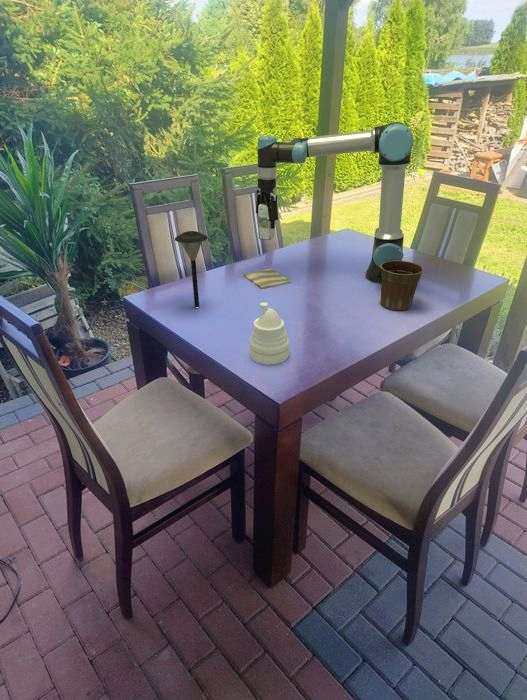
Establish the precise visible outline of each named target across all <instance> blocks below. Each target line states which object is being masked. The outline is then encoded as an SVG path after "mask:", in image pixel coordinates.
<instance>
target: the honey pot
mask: <svg viewBox="0 0 527 700" xmlns="http://www.w3.org/2000/svg"><path fill="white" fill-rule="evenodd" d="M259 306H260V309H261V310H262V313H261V314H260V316H259V317H258V318H255V320H254V321H253V323H252V325H253V327H254V328H253V330H252V334H251V337H250V339H249V355H250V358H251V359H252V360H253V361H254V362H256V363H258V364H262V365H269V366H270V365H271V366H272V365H278V364H280V363H283V362H285V361H286V360H287V359H288V357H289V356H290V355H289V353H290V339H289V338H288V337H289V336H288V334H287V331H286V329H285V321H284V320H283V319H281V317H280V316H279V314H278V312H277V311H276V310H275V309H273V308H271V307H270V308H269V303H268V302H264V301H263V302H260V303H259Z"/></svg>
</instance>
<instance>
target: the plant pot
mask: <svg viewBox="0 0 527 700" xmlns="http://www.w3.org/2000/svg"><path fill="white" fill-rule="evenodd" d="M423 272H424V267H423V266H422V265H421V264H418V263H415V262H412V261H409V260H402V261H398V260H395V261H387V262H383V263H382V264H381V276H382V283H380V285H381V286H380V302H379V303H380V304H381V306H382V307H383V308H385V309H388V310H392V311H398V310H400V311H401V312H402V311H407V310H409V309H410V308H411V307H412V304H413V301H414V297H415V293H416V290H417V287H418V284H419V281H420V280H421V277H422V273H423Z"/></svg>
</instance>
